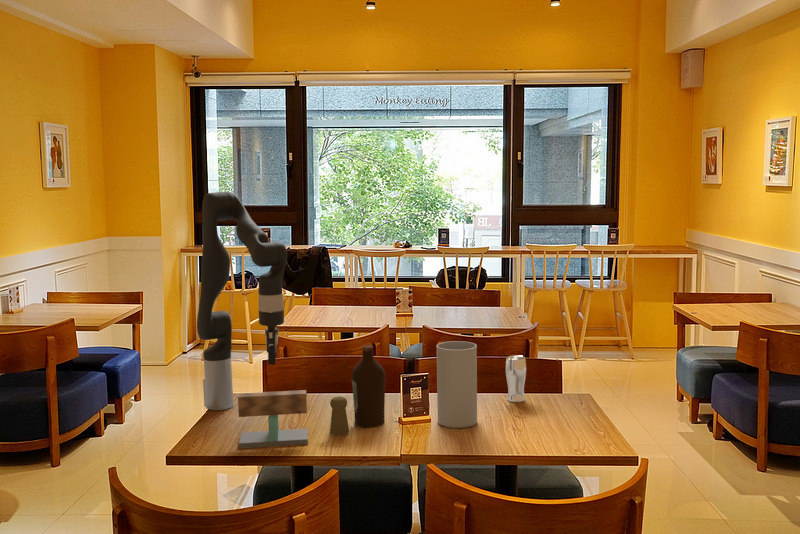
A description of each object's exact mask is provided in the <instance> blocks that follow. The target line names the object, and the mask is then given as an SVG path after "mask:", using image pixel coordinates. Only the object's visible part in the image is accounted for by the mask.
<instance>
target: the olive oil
mask: <svg viewBox="0 0 800 534" xmlns="http://www.w3.org/2000/svg"><path fill="white" fill-rule="evenodd" d="M373 348H374V346H373V345H369V344H367V345H363V346H362V358H361V359H360V361H358V363H357V364H356V365H355V366H354V368H353V370H352V373H351V386H352V387H351V388H352V397H353V398H352V399H353V412H354V423H355V425H356V426H357V427H360V426H361V427H362V428H375V427H380V426H383V425H384V423H385V402H386V401H385V397H386V373H385V369H384V367H383V366H382V365H381V364H380V363H379V362H378V361H377V360H376V359H375V358H374V350H373ZM361 427H360V428H361Z"/></svg>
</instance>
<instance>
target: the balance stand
mask: <svg viewBox="0 0 800 534" xmlns="http://www.w3.org/2000/svg"><path fill="white" fill-rule="evenodd" d="M267 417H268V422H267V424H268V430H259V431H242V432H241V433H240V438H239V441H238V442H239V443H238V448H239V449H250V448H251V449H252V448H267V447H284V446H301V445H308V444H309V436H308V434H309V433H308V428H295V429H294V428H292V429H279V415H268V416H267Z"/></svg>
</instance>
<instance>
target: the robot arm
mask: <svg viewBox="0 0 800 534" xmlns="http://www.w3.org/2000/svg"><path fill="white" fill-rule="evenodd" d="M201 206H202V208H201V209H202V235H203V236H202V254H201V255H202V256H201V264H200V265H201V267H200V268H201V272H200V297H199V303H198V311H197V317H196V331H197V332H196V333H197V335H198V337H199V339H201V340H203V341H210V340H215V339H216V341H215V343H213V344H212V345H211V346H209V347H208V348H205V349H204V351H203V355H202V356H203V357H202V358H203V370H204V372H203V374H204V376H203V377H204V379H202V383H203V384H202V386H203V402H204V403H203V404H204V406H203V407H205V408H206V409H207V410H209V411H223V410H229V409H232V407H233V406H234V390H233V387H234V386H233V371H232V370H233V368H232V349H233V348H232V334H233V333H232V332H233V331H232V327H233V326H232V319H231V318H232V317H231V315H230V313H229V312H228V311H226V310H218V311H213V307H214V306H215V305H214V304H215V302H216V299H217V298H218V297H219V295H220V294H221V293H222V291H223V289H224V288H225V287H226V286H227V283H228V281H229V280H230V272H231V271H230V270H231V258H230V254H229V252H228V250H227V249H226V247H225V246H224V245H223V242H222V240H221V239H220V236H219V233H218V222H222V221H230V220H231V221H235V222H236V228H235V229H236V230H235V232H236V235H237V238H238V240H239V241H240V242H241V243H242V244H243V245H244V246H245V247H246V249H247V250H248V252H249V255H250V257H251V261H252V263H253V264H254V265H255V266H257V267H261V268H266V267H270V269H269V271H268V272H265V273H263V274H261V275H259V277H258V305H257V306H258V323H259V325H260V326H263V327H264V326H266V327H267V329H266V328H265V331H264V337H265V346H266V352H267V364H268V365H269V366H274V365H276V364H277V357H278V341H279V331H280V329H279V328H278V327H277V326H281V325H283V324H284V323H285V310H284V309H285V306H284V305H285V304H284V295H283V278H284V274H285V269H286V265H287V261H288V249H287V247H286V245H285V244H284V243H283V242H280V241H272V242H269V238H268V235H267V234H266V233H265V231H263V230H262V228H261V227H259V226H258V225H257V224H256V222H254V220H253V219H252V217H251V216H250V214H249V212H248V211H247V209H246V208H245V206H244V205H243V202H242V201H241V200H240V198H239V197H238V196H237V195H236V194H235V192H232V191H216V192H214V191H213V192H207V193H206V194H205V195H204V197H203V199H202V205H201Z"/></svg>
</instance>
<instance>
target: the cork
mask: <svg viewBox="0 0 800 534" xmlns="http://www.w3.org/2000/svg"><path fill="white" fill-rule="evenodd" d="M329 403H330V407H331V418H330V426H329V434H330V435H333V436H344V434H345V435H347V433H348V432H349V433H350V428H349V423H348V422H349V421H348V415H347V410H346V408H347V406H348V399H346V397H345V396H333V397H332V398H331V399H330V402H329ZM349 433H348V434H349Z"/></svg>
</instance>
